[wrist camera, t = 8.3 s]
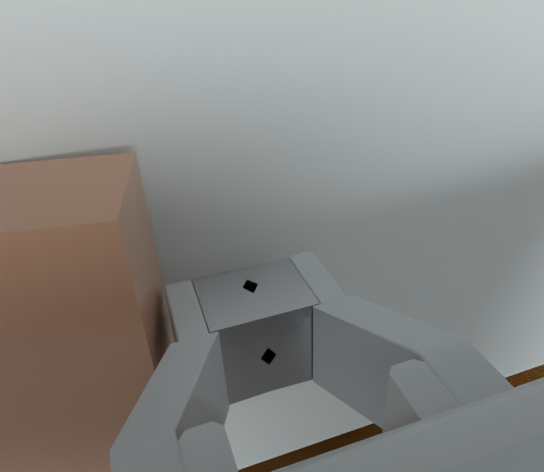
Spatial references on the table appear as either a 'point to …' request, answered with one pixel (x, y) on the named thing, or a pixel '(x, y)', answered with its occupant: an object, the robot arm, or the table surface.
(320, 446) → the table surface
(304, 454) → the table surface
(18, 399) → the terracotta tile
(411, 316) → the white slab
